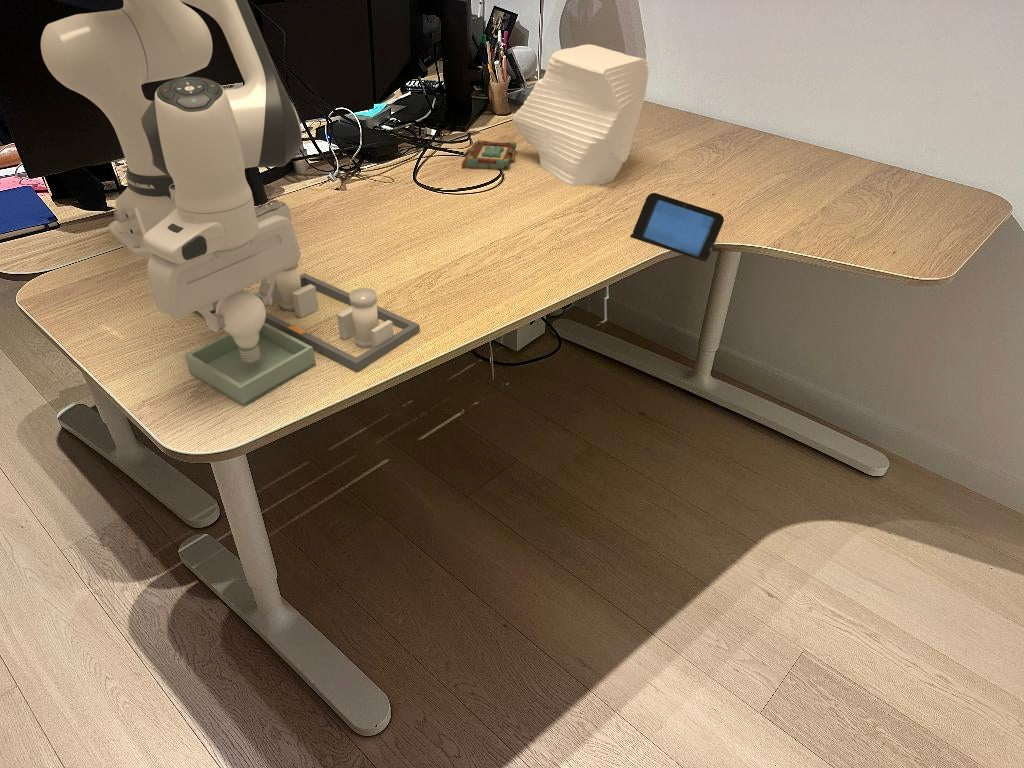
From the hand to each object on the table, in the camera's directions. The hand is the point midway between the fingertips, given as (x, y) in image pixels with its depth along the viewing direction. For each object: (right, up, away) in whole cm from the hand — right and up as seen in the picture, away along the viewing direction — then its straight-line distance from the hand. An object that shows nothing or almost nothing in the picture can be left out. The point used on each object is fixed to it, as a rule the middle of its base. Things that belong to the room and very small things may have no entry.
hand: (241, 316), depth 101 cm
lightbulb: (0, -6, +4) cm, 7 cm away
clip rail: (+8, +1, +15) cm, 17 cm away
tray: (0, -7, +5) cm, 9 cm away
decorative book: (+32, +39, +69) cm, 86 cm away
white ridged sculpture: (+52, +38, +68) cm, 94 cm away
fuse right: (+15, -3, +11) cm, 19 cm away
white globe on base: (+1, +4, +19) cm, 20 cm away
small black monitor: (+63, +13, +35) cm, 73 cm away
